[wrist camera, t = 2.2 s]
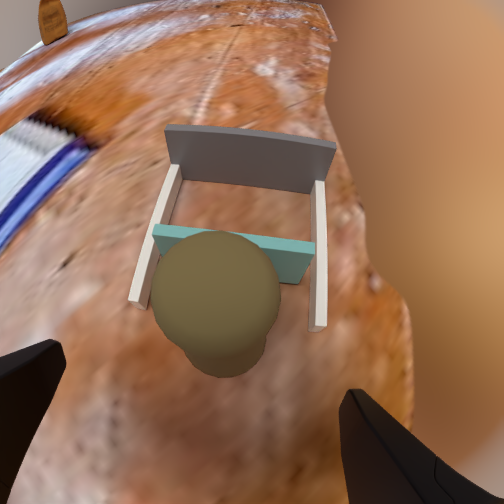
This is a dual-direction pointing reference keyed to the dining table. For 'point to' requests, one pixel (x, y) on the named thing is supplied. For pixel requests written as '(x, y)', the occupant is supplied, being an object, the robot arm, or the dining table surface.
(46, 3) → the coffee package
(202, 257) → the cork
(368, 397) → the robot arm
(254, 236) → the pusher paddle
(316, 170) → the pusher lane
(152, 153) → the dining table surface
